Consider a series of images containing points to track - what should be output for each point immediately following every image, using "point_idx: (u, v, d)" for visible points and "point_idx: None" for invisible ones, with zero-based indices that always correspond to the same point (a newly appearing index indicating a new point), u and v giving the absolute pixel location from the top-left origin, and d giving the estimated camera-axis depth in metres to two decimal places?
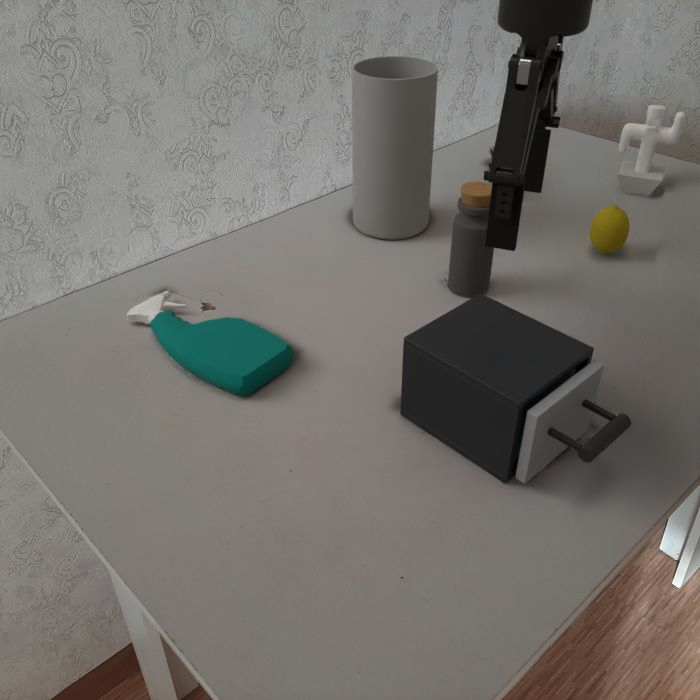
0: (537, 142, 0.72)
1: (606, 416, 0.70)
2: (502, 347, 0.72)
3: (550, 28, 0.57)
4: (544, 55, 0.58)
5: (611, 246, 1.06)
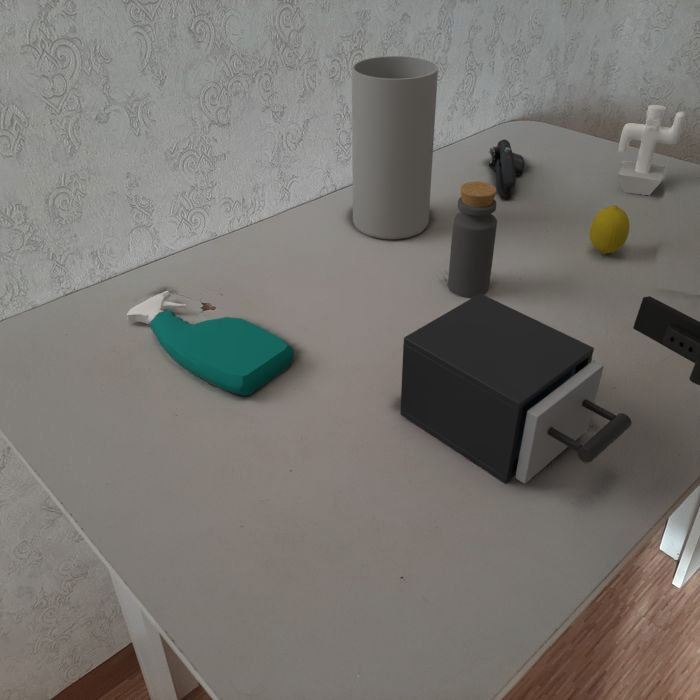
0: None
1: (606, 416, 0.70)
2: (502, 347, 0.72)
3: None
4: None
5: (611, 246, 1.06)
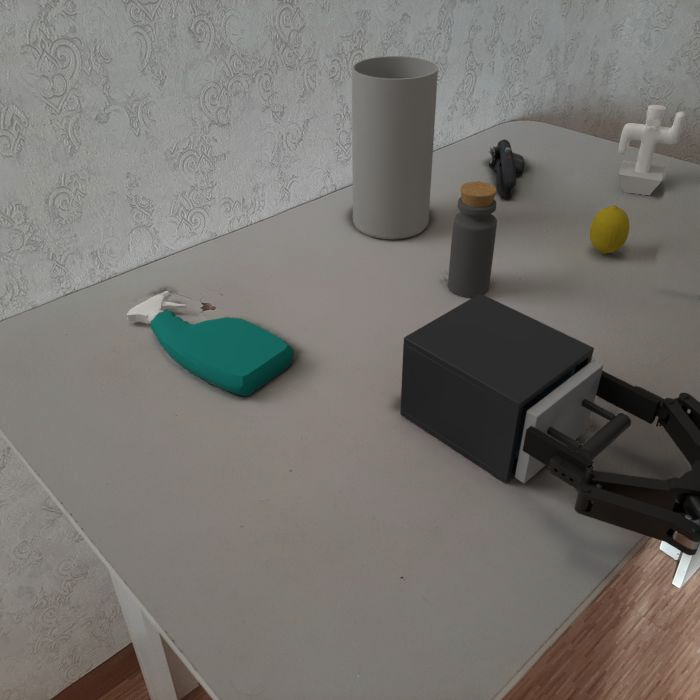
0: None
1: (606, 416, 0.70)
2: (502, 347, 0.72)
3: None
4: None
5: (611, 246, 1.06)
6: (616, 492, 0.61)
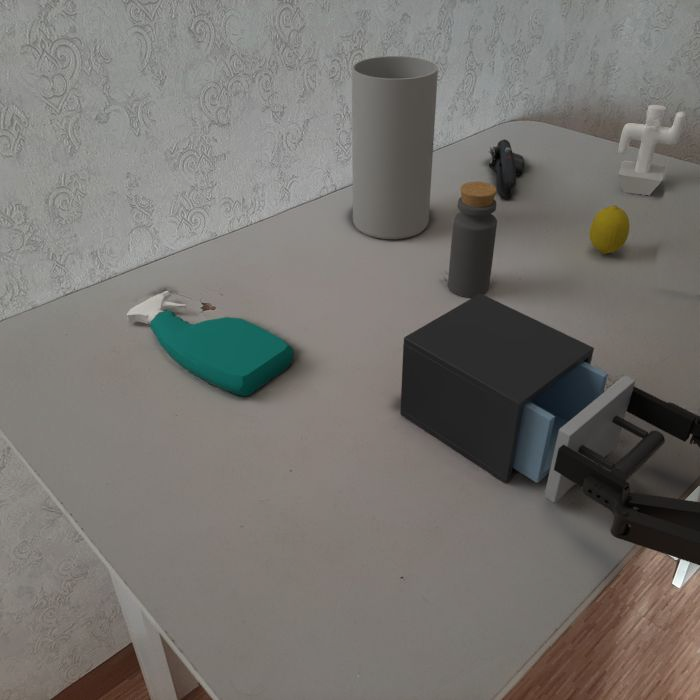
0: None
1: (638, 433, 0.68)
2: (502, 347, 0.72)
3: None
4: None
5: (611, 246, 1.06)
6: (654, 515, 0.59)
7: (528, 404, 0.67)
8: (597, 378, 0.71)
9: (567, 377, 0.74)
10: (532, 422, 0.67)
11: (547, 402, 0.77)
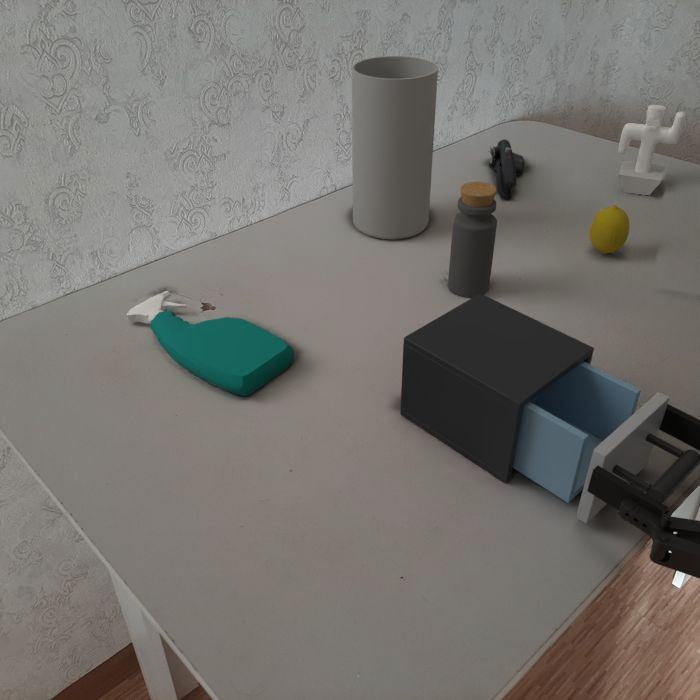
0: None
1: (673, 452, 0.66)
2: (502, 347, 0.72)
3: None
4: None
5: (611, 246, 1.06)
6: (694, 540, 0.57)
7: (560, 422, 0.65)
8: (629, 394, 0.69)
9: (597, 393, 0.72)
10: (564, 441, 0.65)
11: (575, 418, 0.75)
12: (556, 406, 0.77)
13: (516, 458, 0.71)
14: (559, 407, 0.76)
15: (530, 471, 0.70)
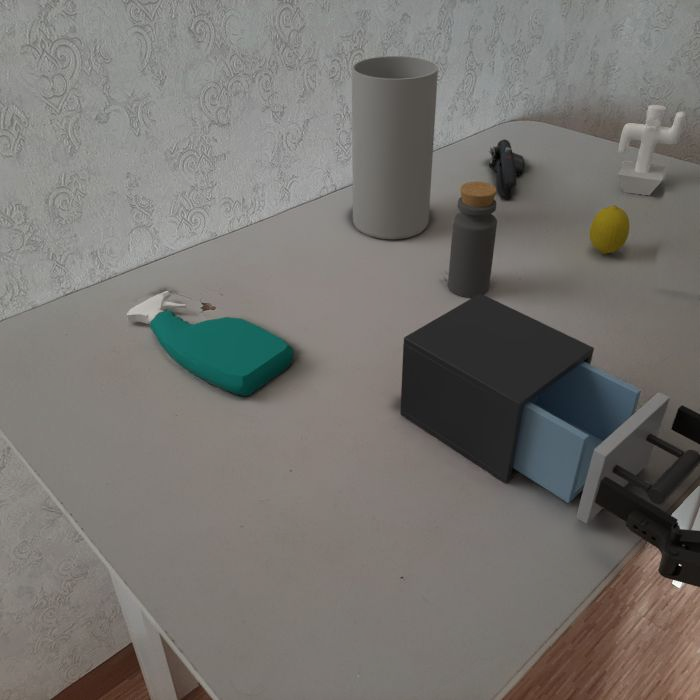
0: None
1: (673, 452, 0.66)
2: (502, 347, 0.72)
3: None
4: None
5: (611, 246, 1.06)
6: None
7: (560, 422, 0.65)
8: (630, 395, 0.69)
9: (597, 393, 0.72)
10: (564, 441, 0.65)
11: (575, 418, 0.75)
12: (556, 406, 0.76)
13: (516, 459, 0.71)
14: (559, 407, 0.76)
15: (530, 471, 0.70)
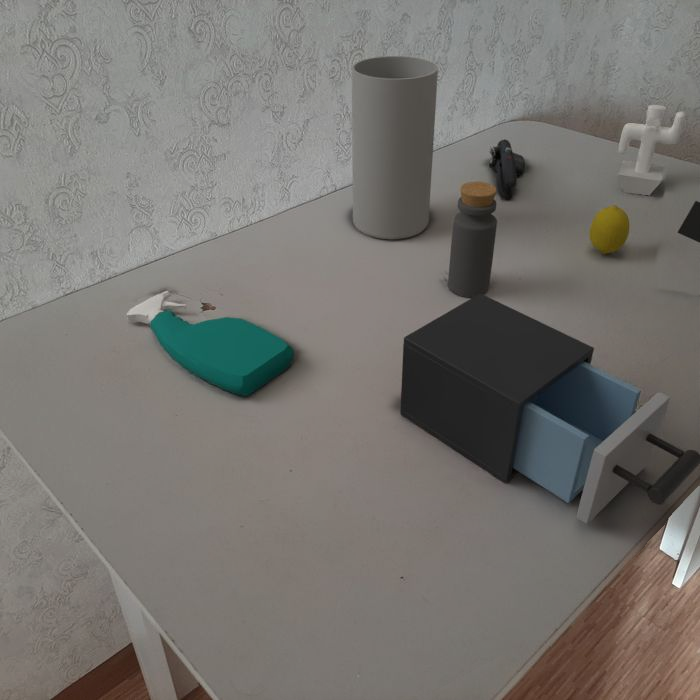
0: None
1: (673, 452, 0.66)
2: (502, 347, 0.72)
3: None
4: None
5: (611, 246, 1.06)
6: None
7: (560, 422, 0.65)
8: (630, 395, 0.69)
9: (597, 393, 0.72)
10: (564, 441, 0.65)
11: (575, 418, 0.75)
12: (556, 406, 0.76)
13: (516, 459, 0.71)
14: (559, 407, 0.76)
15: (530, 471, 0.70)
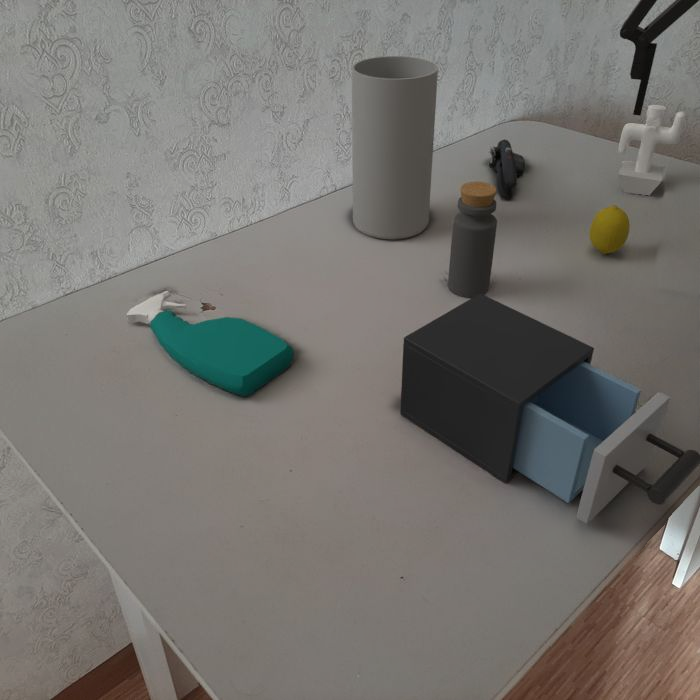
0: None
1: (673, 452, 0.66)
2: (502, 347, 0.72)
3: None
4: None
5: (611, 246, 1.06)
6: None
7: (560, 422, 0.65)
8: (630, 395, 0.69)
9: (597, 393, 0.72)
10: (564, 441, 0.65)
11: (575, 418, 0.75)
12: (556, 406, 0.76)
13: (516, 459, 0.71)
14: (559, 407, 0.76)
15: (530, 471, 0.70)
